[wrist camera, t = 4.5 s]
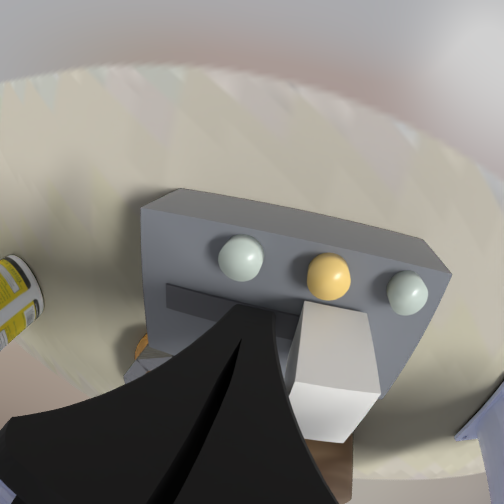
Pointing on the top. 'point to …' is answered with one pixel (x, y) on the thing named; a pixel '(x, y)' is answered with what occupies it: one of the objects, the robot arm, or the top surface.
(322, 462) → the brown tapered cylinder
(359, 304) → the switch box
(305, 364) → the handle
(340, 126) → the top surface
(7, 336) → the supplement bottle
